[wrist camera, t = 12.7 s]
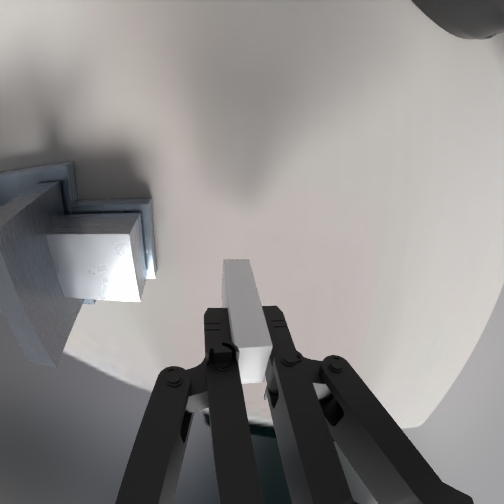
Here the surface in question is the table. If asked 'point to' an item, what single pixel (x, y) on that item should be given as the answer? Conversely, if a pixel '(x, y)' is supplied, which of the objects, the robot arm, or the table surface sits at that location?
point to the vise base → (81, 202)
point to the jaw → (62, 267)
